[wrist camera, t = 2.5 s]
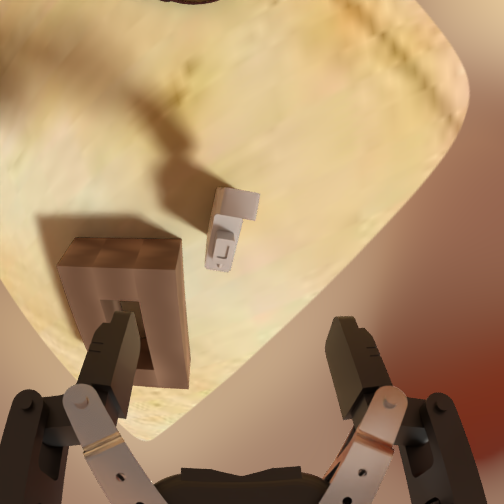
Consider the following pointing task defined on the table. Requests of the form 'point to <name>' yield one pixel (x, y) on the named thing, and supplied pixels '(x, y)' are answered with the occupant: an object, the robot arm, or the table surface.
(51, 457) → the robot arm
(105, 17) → the table surface
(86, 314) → the slot stand
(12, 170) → the table surface
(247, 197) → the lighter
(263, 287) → the table surface
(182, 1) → the watch
